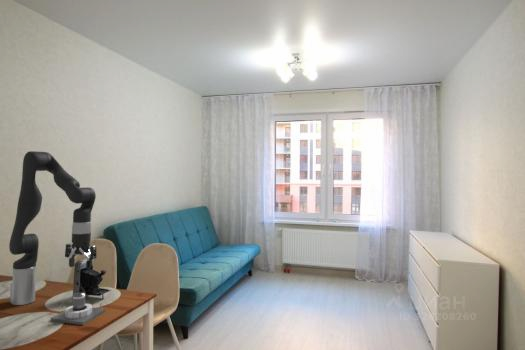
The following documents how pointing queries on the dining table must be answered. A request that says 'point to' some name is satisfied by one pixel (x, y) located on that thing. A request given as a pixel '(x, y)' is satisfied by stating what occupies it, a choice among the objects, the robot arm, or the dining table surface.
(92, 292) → the vintage camera
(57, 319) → the mount
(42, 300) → the dining table surface
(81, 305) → the lens
